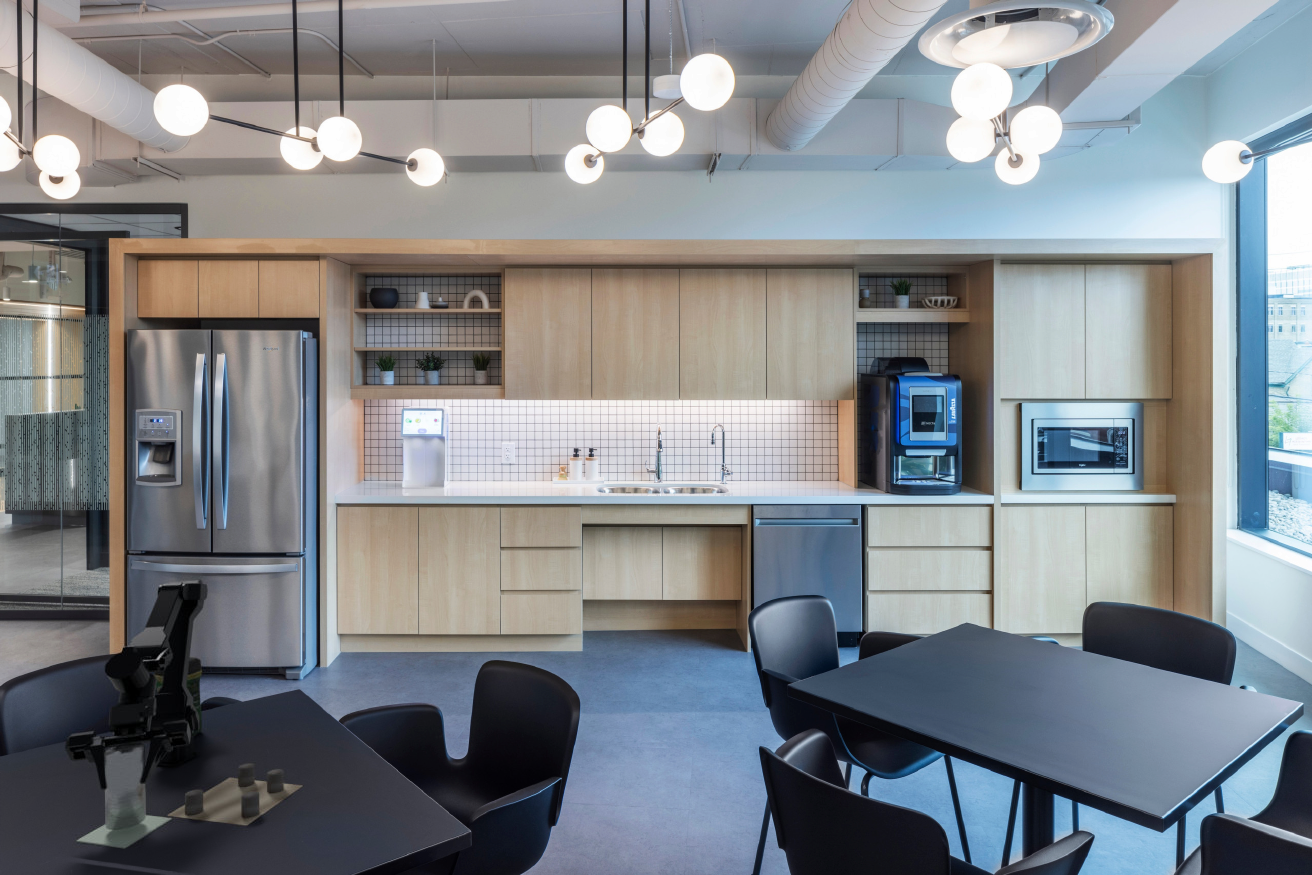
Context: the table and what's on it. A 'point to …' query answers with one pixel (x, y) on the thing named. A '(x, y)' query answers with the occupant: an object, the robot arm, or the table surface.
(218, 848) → the table surface
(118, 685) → the robot arm
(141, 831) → the sage pad
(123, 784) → the clear upright cylinder
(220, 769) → the table surface
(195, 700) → the coffee jar
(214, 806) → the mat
